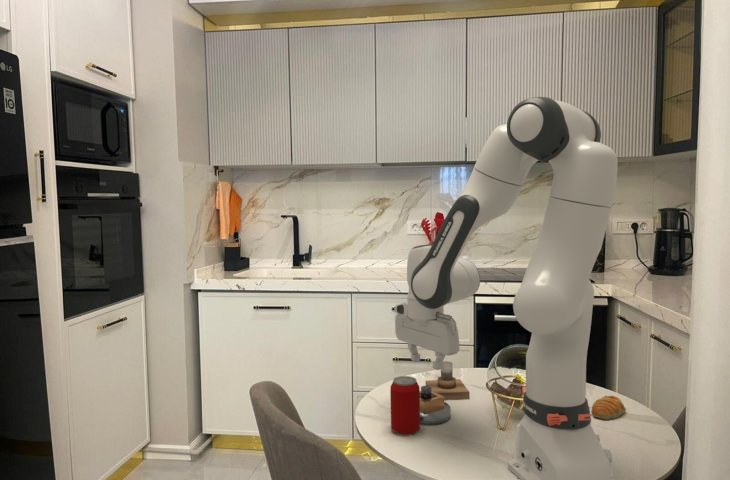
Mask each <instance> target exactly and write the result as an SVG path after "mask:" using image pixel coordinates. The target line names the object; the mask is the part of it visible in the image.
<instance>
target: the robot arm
mask: <svg viewBox="0 0 730 480" xmlns="http://www.w3.org/2000/svg"><path fill="white" fill-rule="evenodd" d="M601 132H602V130H601V127H600V124H599V123H598V121H597V120H596V118H595V117H594V116H593V115H591V114H590V113H589V112H588V111H585V110H583V109H579V108H577V107H576V106H574V105H573V104H571V103H568V102H567V101H566V102H565V101H561V100H557V99H553V98H550V97H546V96H533V97H528V98H526V99H524V100H522V101H520V102H518V103H517V104H516V105H515V106H514V108H512V110H511V112H510V114H509V116H508V118H507V123H505V124H500V125H498V126H497V127H495V128H494V129H493V130H492V132H491V133H490V135H489V137H488V139H487V140H486V142H485V143H484V145H483V147H482V149H481V151H480V153H479V155H478V157H477V160H476V161H475V164H474V167H473V169H472V172H471V173H470V177H469V179H467V182H466V184H465V185H464V188H463V189H462V191H461V193H460V195H459V196H458V198H457V199H456V200H455V202H454V203H453V204H452V205H451V208H450V209H449V211H448V212H447V215H446V216H445V219H444V221H443V222H442V224H441V226H440V228H439V230H438V231H437V232H438V233H437V234H436V236H435V238H434V241H433V242H432V243H428V244H422V245H416V246H413V247H412V248H411V249H410V250H409V252H408V256H407V263H406V265H407V266H406V280H407V285H408V293H407V297H406V298H407V301H406V302H402V303H399V304H395V305H394V311H395V313H396V315H395V318H394V323H395V324H394V327H395V336H396V338H397V340H399V341H402V342H403V343H407V347H408V351H409V353H410V357H411V358H410V360H411V361H413V362H415V363H417V362H420V361H421V354H420V353H419V351H418V349H417V347H420V348H423V349H426V350H429V351H433V352H434V356H435V360H433V361H432V369H433V370H437V371H439V370H440V371H441V369H442V362H444V359H445V358H446V356H453V355H456V354H458V353H459V351H460V337H459V330H458V327H457V322H456V320H455V319H454V318H453V316H452V315H450V314H445V313H444V312H445V311H444V306H446V305H448V304H452V303H455V302H459V301H462V300H465V299H467V298H470V297H472V296H474V295H475V294H476V293H477V292H478V290H479V289H480V288H479V287H480V284H481V276H480V275H481V274H480V273H479V272H480V271H479V269H478V268H477V266H476V264H474V262H472V261H471V260H468V259H464V258H461V257H460V256H461V254H462V252H463V250H464V248H465V246H466V244H467V242H468V240H469V239H470V238H471V236H472V235H473V234H474V233H475V232H476V231H477V230H479V229H480V228H481V227H482V226H484V225H485V224H487V223H489V222H491V221H492V220H495V219H497V218H499V217H502V216H503V215H505V214H506V213H508V212H509V211H510V209H511V208H512V207H513V205H514V204H515V203H516V201H517V199H518V197H519V195H520V193H521V191H522V190H523V186H524V184H525V182H526V180H527V177H528V175H529V173H530V171H531V169H532V167H533V166H534V165H535V164H536V163H537V162H538V161H539V162H541V163H547V162H548V163H550V166H551V167H552V171H553V178H552V185H551V189H550V191H549V196H548V200H547V204H546V208H545V212H544V217H543V222H542V225H541V230H540V233H539V237H538V240H537V243H536V245H535V248H534V250H533V253H532V254H531V257H530V260H529V262H528V265H527V267H526V270H525V273H524V276H523V279H522V282H521V283H520V287H519V288H518V289H517V292H516V293H515V294H514V298H513V301H512V302H513V304H512V309H513V314H514V317H515V318H516V320H517V322H518V323H519V324H520V326H522V327H523V329H525V330H527V331H528V332H529V333H531V336H530V341H529V345H528V348H527V351H526V354H525V391H524V392H523V399H522V407H523V408H522V411H523V413H524V414H523V416H522V418H521V420H520V421H519V423H518V424H517V425H516V429H515V430H516V431H515V442H514V456H513V457H512V458H511V459H509V460H508V461H507V468H508V469H509V470H510V471H511V472H512V473H513V474H514V475H515V476H516V477H517V478H519V480H615V478H614V477H613V475H612V468H611V464H612V462H613V454H612V451H611V450H610V449H604V448H603V446H602V445H601V442H600V441H601V439H600V438H601V437H600V436H599V434H596V432H595V430H594V427H593V426H592V424H591V422H592V418H591V416H592V417H593V415H592V413H591V410H590V409H591V408H590V406H589V400H588V398H587V396H586V394H587V393H586V390H587V386H586V385H587V357H588V350H589V349H588V348H589V343H590V334H591V326H592V320H593V319H592V318H593V317H592V316H593V308H594V305H593V304H594V299H595V289H594V286H593V284H592V282H591V280H590V277H591V273H592V270H593V268H594V267H595V266H594V265H595V264H596V262H597V258H598V256H599V254H600V252H601V250H602V247H603V243H604V239H605V236H606V231H607V227H608V222H609V219H610V215H611V212H612V211H611V210H612V207H613V203H614V199H615V193H616V188H617V181H618V180H617V178H618V166H619V165H618V161H619V160H618V156H617V154H616V152H615V151H614V150H613V149H612V148H611V147H610V146H608V145H606V144H604V143H602V142H601V138H602V133H601Z"/></svg>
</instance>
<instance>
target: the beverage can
mask: <svg viewBox="0 0 730 480" xmlns="http://www.w3.org/2000/svg"><path fill="white" fill-rule="evenodd" d="M389 388H390V428H391V430H392V431H393V432H395V433H396V434H398V435H402V436H412V435H413V434H415V433H416V432H418V431H419V430H420V429H421V425H420V391H421V387H420V385H419V383H418V382H417V379H416V378H415V377H413V376H406V375H401V376H397V377H394V378H393V381H392V383H391V385H390V387H389Z"/></svg>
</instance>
